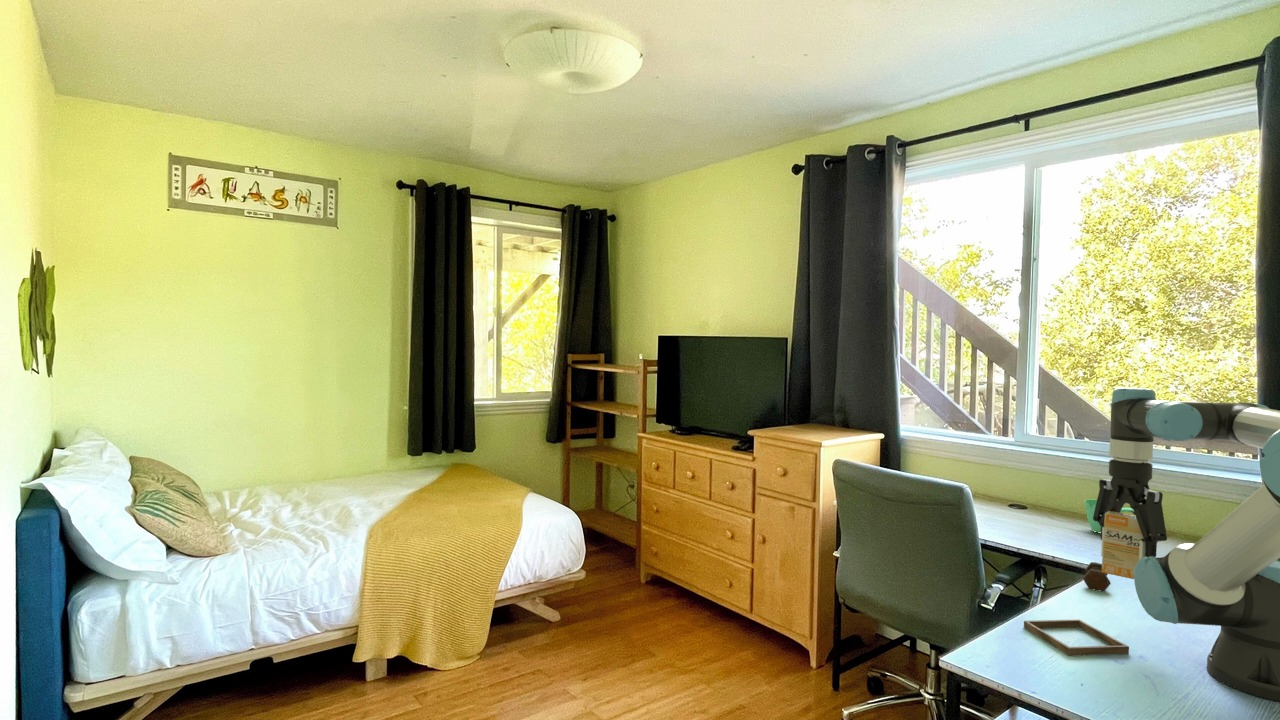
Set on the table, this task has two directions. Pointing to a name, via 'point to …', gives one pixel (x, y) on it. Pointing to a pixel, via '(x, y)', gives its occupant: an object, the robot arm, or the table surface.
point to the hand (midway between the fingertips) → (1126, 563)
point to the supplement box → (1120, 544)
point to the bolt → (1096, 577)
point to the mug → (1090, 510)
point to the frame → (1115, 647)
